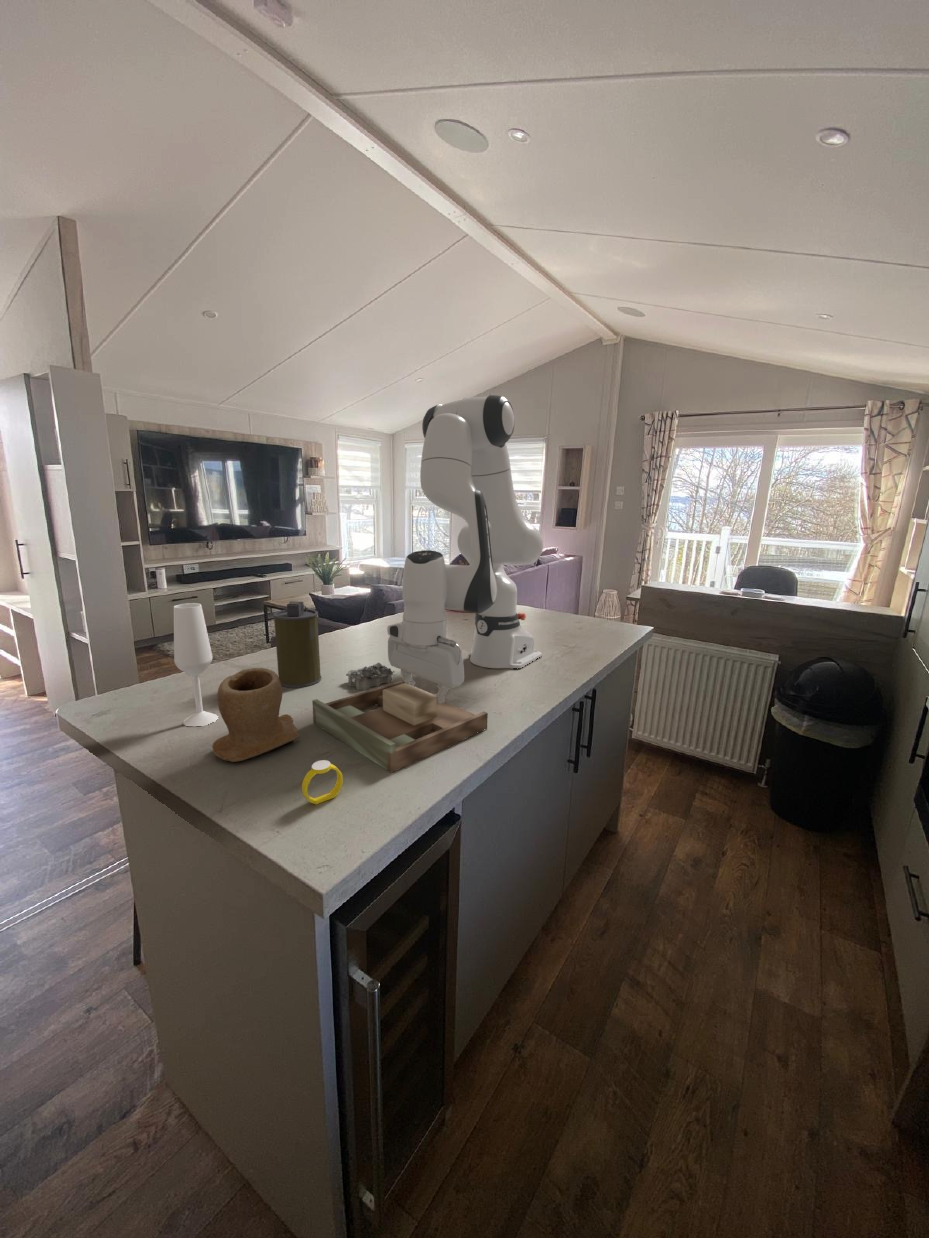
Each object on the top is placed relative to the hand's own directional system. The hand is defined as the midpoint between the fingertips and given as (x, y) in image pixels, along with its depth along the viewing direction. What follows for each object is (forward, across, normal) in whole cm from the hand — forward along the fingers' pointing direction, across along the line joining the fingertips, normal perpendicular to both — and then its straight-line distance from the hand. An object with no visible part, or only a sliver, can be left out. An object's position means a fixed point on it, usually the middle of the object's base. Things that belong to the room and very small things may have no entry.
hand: (424, 695), depth 104 cm
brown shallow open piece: (+5, 0, +6) cm, 8 cm away
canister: (+5, +38, +8) cm, 39 cm away
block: (+3, 0, +4) cm, 5 cm away
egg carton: (+5, +25, -4) cm, 26 cm away
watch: (+5, -12, +30) cm, 33 cm away
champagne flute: (+5, +30, +34) cm, 46 cm away
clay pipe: (+5, +10, +30) cm, 32 cm away
